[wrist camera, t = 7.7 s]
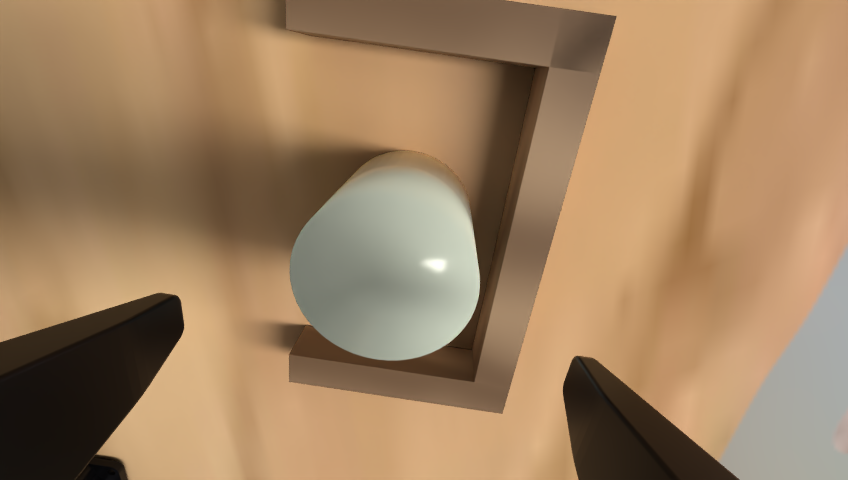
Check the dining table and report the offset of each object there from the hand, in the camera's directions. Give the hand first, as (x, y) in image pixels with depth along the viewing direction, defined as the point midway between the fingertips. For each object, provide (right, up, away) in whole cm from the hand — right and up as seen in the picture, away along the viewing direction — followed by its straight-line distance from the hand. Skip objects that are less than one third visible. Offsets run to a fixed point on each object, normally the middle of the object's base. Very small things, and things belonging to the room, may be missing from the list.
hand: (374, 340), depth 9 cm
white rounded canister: (0, +3, +8) cm, 9 cm away
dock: (+1, +3, +8) cm, 9 cm away
